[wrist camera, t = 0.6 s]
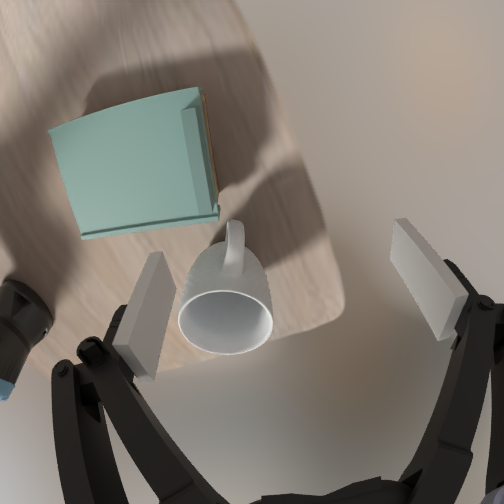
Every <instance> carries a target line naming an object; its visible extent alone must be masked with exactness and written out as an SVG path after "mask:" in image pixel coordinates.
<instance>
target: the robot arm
mask: <svg viewBox="0 0 504 504" xmlns="http://www.w3.org/2000/svg"><path fill="white" fill-rule="evenodd" d="M390 260H391V262H392V263H393V265H394V266H395V268H396V269H397V271H398V273H399V274H400V276H401V278H402V279H403V281H404V282H405V284H406V286H407V287H408V289H409V291H410V292H411V294H412V296H413V297H414V299H415V301H416V302H417V304H418V306H419V308H420V309H421V311H422V313H423V315H424V316H425V318H426V320H427V322H428V324H429V325H430V327H431V329H432V331H433V333H434V335H435V337H436V338H437V340H438V341H439V340H443V339H446V338H449V337H451V334H452V332H453V330H454V329H455V330H456V332H457V334H458V335H457V337H456V339H455V341H454V343H453V345H452V346H451V349H453V351H452V354H451V358H450V362H449V366H448V369H447V372H446V376H445V379H444V382H443V385H442V388H441V391H440V394H439V397H438V400H437V403H436V405H435V408H434V411H433V413H432V416H431V418H430V422H429V423H428V426H427V428H426V431H425V433H424V436H423V438H422V440H421V442H420V445H419V447H418V449H417V451H416V453H415V455H414V457H413V459H412V461H411V462H410V464H409V465H408V467H407V468H406V469H405V471H404V472H403V474H402V475H401V477H400V479H399V481H392V480H381V477H380V476H379V477H375V478H372V479H368V480H364V481H360V482H356V483H352V484H350V485H348V486H346V487H343V488H341V489H339V490H337V491H334V492H332V493H329V494H327V495H324V496H314V495H302V494H292V493H291V494H280V495H267V496H262V497H261V498H262V499H261V500H257V501H255V502H252V503H250V504H454V503H455V500H456V499H457V496H458V494H459V492H460V490H461V488H462V485H463V483H464V480H465V478H466V476H467V473H468V470H469V468H470V465H471V462H472V458H473V453H472V452H471V444H472V442H473V438H474V435H475V432H476V429H477V425H478V421H479V418H480V414H481V410H482V406H483V402H484V398H485V393H486V388H487V383H488V378H489V372H490V370H491V390H492V417H491V438H490V451H489V459H488V467H487V475H486V490H485V495H486V496H485V497H484V498H483V500H482V501H481V504H504V304H495V303H494V301H493V300H492V299H491V298H490V297H488V296H485V295H479V294H478V293H477V291H476V290H475V289H474V287H473V286H472V285H471V283H470V282H469V281H468V280H467V278H465V276H464V275H463V273H462V272H460V270H459V268H458V267H457V266H456V265H455V264H454V263H453V262H451V261H449V260H448V259H445V260H442V259H441V257H440V256H439V255H438V254H437V253H436V251H435V250H434V249H433V248H432V247H431V245H430V244H429V243H428V242H427V241H426V240H425V239H424V237H423V236H422V235H421V234H420V233H419V232H418V231H417V230H416V228H415V227H414V226H413V225H412V224H411V223H410V222H409V221H408V220H407V219H406V218H402V219H395V221H394V230H393V238H392V247H391V254H390ZM176 289H177V288H176V286H175V283H174V281H173V278H172V275H171V273H170V270H169V268H168V265H167V262H166V260H165V257H164V254H163V251H160V252H154V253H150V255H149V257H148V259H147V261H146V263H145V266H144V268H143V270H142V272H141V274H140V277H139V279H138V281H137V284H136V286H135V288H134V291H133V293H132V295H131V298H130V300H129V303H128V305H121V306H120V307H119V308H118V309H117V310H116V312H115V313H114V316H113V318H112V322H111V323H110V325H109V328H108V330H107V332H106V335H105V337H104V340H103V342H102V341H101V340H100V339H99V338H98V337H95V336H93V337H88V338H86V339H84V340H83V341H82V342H81V343H80V344H79V346H78V348H77V356H78V357H79V358H80V360H81V361H82V362H83V363H81V364H77V365H74V364H73V363H72V362H71V361H70V360H67V359H64V360H61V361H59V362H58V363H57V364H56V365H55V366H54V368H53V370H52V378H51V385H52V414H53V430H54V441H55V449H56V457H57V464H58V470H59V476H60V481H61V486H62V491H63V495H64V500H65V504H129V503H128V500H127V497H126V494H125V491H124V488H123V485H122V482H121V479H120V475H119V472H118V468H117V465H116V462H115V458H114V454H113V450H112V446H111V442H110V438H109V434H108V430H107V425H106V420H105V415H104V410H103V406H104V408H105V410H106V412H107V414H108V416H109V418H110V420H111V422H112V424H113V425H114V428H115V429H116V431H117V433H118V435H119V437H120V439H121V440H122V442H123V444H124V446H125V447H126V449H127V451H128V453H129V454H130V456H131V458H132V459H133V461H134V462H135V464H136V466H137V467H138V469H139V470H140V472H141V473H142V475H143V476H144V478H145V479H146V481H147V482H148V484H149V485H150V487H151V488H152V490H153V491H154V492H155V494H156V495H157V497H158V498H159V504H230V503H229V502H228V501H227V500H225V499H224V498H223V497H222V496H221V495H220V494H218V493H217V492H216V491H215V490H214V489H213V488H212V487H211V485H210V484H209V483H208V482H207V481H206V480H205V479H204V478H203V476H202V475H201V474H200V473H199V472H198V471H197V470H196V468H195V467H194V466H193V465H192V464H191V462H190V461H189V460H188V459H187V457H186V456H185V455H184V454H183V452H182V451H181V450H180V449H179V447H178V446H177V445H176V444H175V442H174V441H173V440H172V438H171V437H170V436H169V434H168V433H167V431H166V430H165V429H164V427H163V426H162V425H161V423H160V422H159V420H158V419H157V417H156V416H155V415H154V413H153V412H152V410H151V409H150V407H149V406H148V404H147V403H146V401H145V400H144V398H143V397H142V395H141V393H140V392H139V390H138V389H137V387H136V385H135V384H134V383H133V378H134V375H135V376H136V377H137V379H138V380H139V381H146V382H154V380H155V375H156V371H157V366H158V362H159V357H160V353H161V349H162V344H163V340H164V336H165V332H166V328H167V324H168V320H169V316H170V312H171V308H172V304H173V300H174V297H175V293H176ZM51 327H52V317H51V314H50V312H49V310H48V308H47V306H46V305H45V303H44V302H43V301H42V300H41V298H40V297H39V296H38V295H37V294H36V293H35V292H34V291H32V290H31V289H30V288H29V287H27V286H26V285H24V284H22V283H20V282H18V281H14V280H7V281H5V282H4V283H3V284H2V285H1V286H0V401H6V400H7V399H8V398H9V396H10V394H11V392H12V390H13V388H14V387H15V383H16V381H17V378H18V376H19V374H20V372H21V369H22V367H23V365H24V363H25V361H26V359H27V357H28V354H29V352H30V351H31V349H32V348H33V347H34V346H35V345H36V344H37V343H39V342H40V341H41V340H42V339H43V338H44V337H45V336H46V335H47V334H48V333H49V331H50V329H51Z"/></svg>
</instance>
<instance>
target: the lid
mask: <svg viewBox="0 0 504 504" xmlns="http://www.w3.org/2000/svg"><path fill="white" fill-rule="evenodd" d="M200 92H202V86H199V87H192V88H187V89H182V90H177V91H172V92H167V93H163V94H158V95H154V96H150V97H146V98H142V99H138V100H134V101H130V102H127V103H123V104H120V105H116V106H113V107H110V108H107V109H103V110H100V111H97V112H94V113H91V114H89V115H86V116H83V117H80V118H77V119H75V120H72V121H69V122H67V123H64V124H62V125H59V126H57V127H54V128H52V129H50V130H48V135H51V139H52V143H53V147H54V151H55V155H56V159H57V162H58V166H59V169H60V173H61V176H62V180H63V183H64V186H65V189H66V192H67V195H68V198H69V201H70V204H71V207H72V210H73V213H74V216H75V218H76V221H77V224H78V227H79V229H80V232H81V234H82V235H81V236H80V237H81V239H82V240H86V239H93V238H99V237H106V236H112V235H119V234H125V233H132V232H139V231H146V230H153V229H161V228H168V227H176V226H184V225H191V224H199V223H208V222H216V221H219V217H220V205H218V204H217V198H216V192H215V186H214V180H213V174H212V168H211V161H210V155H209V149H208V142H207V135H206V129H205V122H204V115H203V108H202V101H201V94H200Z"/></svg>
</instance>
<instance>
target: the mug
mask: <svg viewBox="0 0 504 504" xmlns="http://www.w3.org/2000/svg"><path fill="white" fill-rule="evenodd" d="M244 244H245V232H244V225H243V223H242V222H241V221H238V220H234V219H232V220H229V221H228V222H227V228H226V237H225V241H223V242H218V243H216V244H213V245H211V246H209V247H208V248H207V249H205V250H204V251H203V252H202V253H201V254H200V255H199V257H197V259H196V261H195V262H194V264H193V266H192V267H191V269H190V271H189V273H188V277H187V278H186V283H185V285H184V290H183V292H182V298H181V304H180V309H179V314H178V324H179V328H180V330H181V332H182V334H183V335H184V337H185V338H186V339H187V340H188V341H189V342H190V343H191V344H193V345H194V346H196V347H198V348H200V349H202V350H204V351H207V352H211V353H215V354H224V355H231V354H240V353H245V352H248V351H251V350H253V349H255V348H257V347H259V346H260V345H262V344H263V343H264V342H265V341H266V340H267V339H268V338H269V336H270V335H271V333H272V330H273V326H274V318H273V309H272V302H271V295H270V289H269V285H268V281H267V276H266V274H265V271H264V269H263V268H262V264H261V263H260V262H259V260H258V259H257V258H256V256H255V255H254V254H253V252H252V251H251V250H249V249H248V248H247V247H245V246H244Z"/></svg>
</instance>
